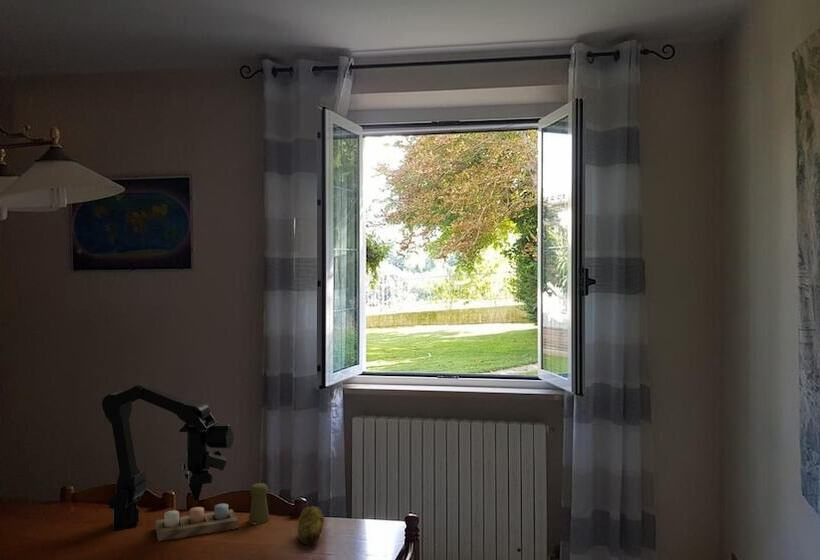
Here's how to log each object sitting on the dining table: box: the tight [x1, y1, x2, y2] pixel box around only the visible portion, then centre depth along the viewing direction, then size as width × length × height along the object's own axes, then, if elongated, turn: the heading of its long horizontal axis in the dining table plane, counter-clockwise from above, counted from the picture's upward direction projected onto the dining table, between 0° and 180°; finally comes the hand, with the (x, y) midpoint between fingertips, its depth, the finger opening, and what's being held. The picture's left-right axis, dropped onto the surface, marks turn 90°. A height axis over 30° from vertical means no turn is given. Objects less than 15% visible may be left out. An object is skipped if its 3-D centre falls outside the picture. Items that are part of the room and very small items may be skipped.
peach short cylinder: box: [189, 506, 205, 524], centre depth 192 cm, size 4×4×4 cm
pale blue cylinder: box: [213, 503, 229, 520], centre depth 195 cm, size 4×4×4 cm
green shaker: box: [248, 482, 270, 525], centre depth 199 cm, size 6×6×11 cm
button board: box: [155, 508, 239, 542], centre depth 192 cm, size 22×10×2 cm, turn 115°
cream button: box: [163, 510, 180, 528], centre depth 189 cm, size 4×4×4 cm
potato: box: [297, 505, 325, 546], centre depth 185 cm, size 8×13×8 cm, turn 169°
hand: (196, 500), depth 192 cm, fingers closed
